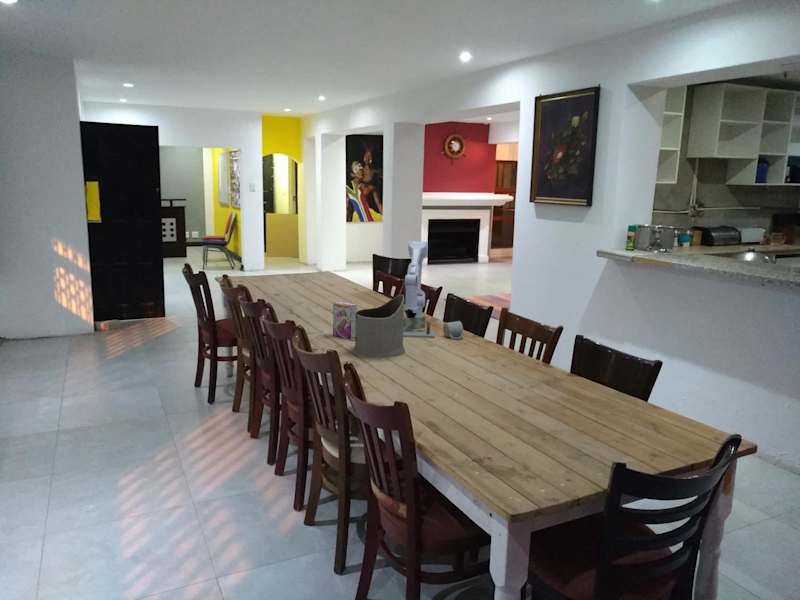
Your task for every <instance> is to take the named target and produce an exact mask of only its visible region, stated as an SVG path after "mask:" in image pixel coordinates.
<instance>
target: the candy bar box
mask: <svg viewBox="0 0 800 600" xmlns="http://www.w3.org/2000/svg"><path fill="white" fill-rule="evenodd" d="M340 308H348V309H350V310H352V311H353V312H354V313H355V314H356V312H357V311H358V305H357V304H356V303H349V302H343V301H336V302H333V303H332V336H334V337H338V338H339V337H340V338H344V337H346V338H348V339H351V340H354V339H355V324H356V318H355V314H354V313H353V312H352V311H350V310H347V309H341V310H339V311H338V312H337V314H336V327H337V330H338V331H339V332H340V334H342V335H343V336H344V337H342V336H341V335H340V334H339V333H338V332H337V330H336V328H335V322H334V317H335V313H336V311H337V310H338V309H340ZM344 339H345V338H344Z"/></svg>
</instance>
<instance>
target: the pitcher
mask: <svg viewBox="0 0 800 600" xmlns="http://www.w3.org/2000/svg"><path fill="white" fill-rule="evenodd" d="M404 306H405V295H403V294H397V295H395V296H394V297H393V298H391V299H390V300H389V301H387V302H386V303H384V304H381V305H380V306H378V307H372V308H371V307H370V308H364V309H363V308H362V309H359V310H357V312H356V314H355V313H354V312H353V311H352V310H350V309H348V308H340V309H338V310H337V311H336V313H335V317H334V322H335V328H336V330H337V327H336V314H337V312H338V311H339V310H341V309H347V310H350V311H352V312H353V313H354V314H355V318H356V324H355V338H354V339H348V338H346V337H344V336H343V335H342V334H340V332H339V331H338V330H337V332H338V333H339V334H340V335H341V336H342V337H341V338H343V337H344V339H345V340H347V341H349V342H355V344H354V347H353V350H352V353H353V354H355V355H357V356H359V357H363V358H368V359H391V358H397V357H400V356H403V355H404V354H405V353H406V350H405V349H406V348H405V347H404V337H403V319H404V317H405V316H404V315H405V313H404V312H405V308H404Z"/></svg>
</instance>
